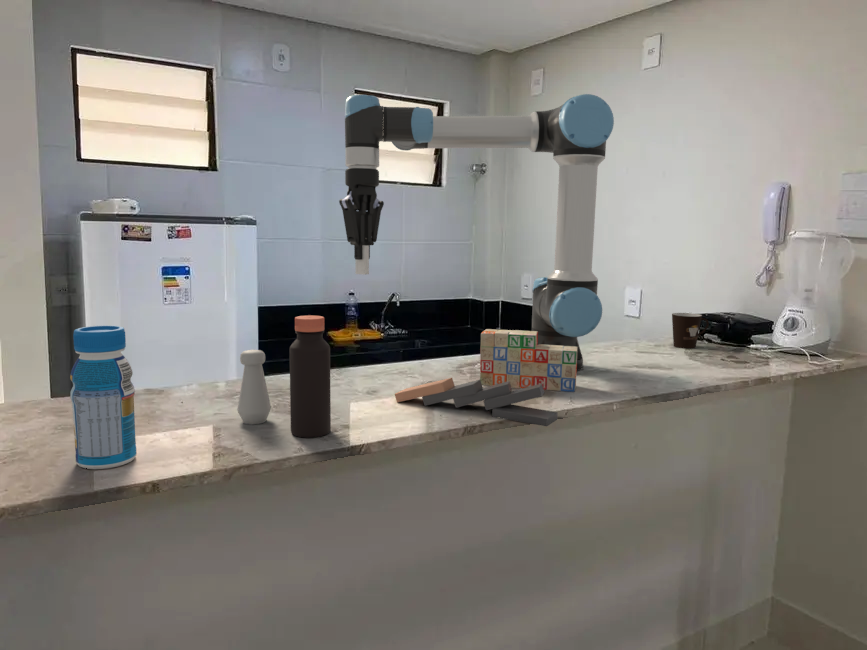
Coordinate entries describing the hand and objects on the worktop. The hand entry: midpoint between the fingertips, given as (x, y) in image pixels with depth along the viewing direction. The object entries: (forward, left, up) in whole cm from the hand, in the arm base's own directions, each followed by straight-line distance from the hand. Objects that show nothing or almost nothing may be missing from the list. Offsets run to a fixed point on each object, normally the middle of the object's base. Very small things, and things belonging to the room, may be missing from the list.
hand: (362, 274), depth 152 cm
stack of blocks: (-37, +11, -25) cm, 46 cm away
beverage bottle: (+42, +50, -25) cm, 70 cm away
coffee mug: (-103, -31, -25) cm, 110 cm away
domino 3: (-22, +31, -23) cm, 44 cm away
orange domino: (-6, +20, -24) cm, 32 cm away
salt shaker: (+22, +32, -25) cm, 46 cm away
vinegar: (+12, +40, -25) cm, 48 cm away
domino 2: (-17, +27, -23) cm, 39 cm away
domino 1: (-11, +24, -24) cm, 35 cm away
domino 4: (-24, +33, -24) cm, 47 cm away
